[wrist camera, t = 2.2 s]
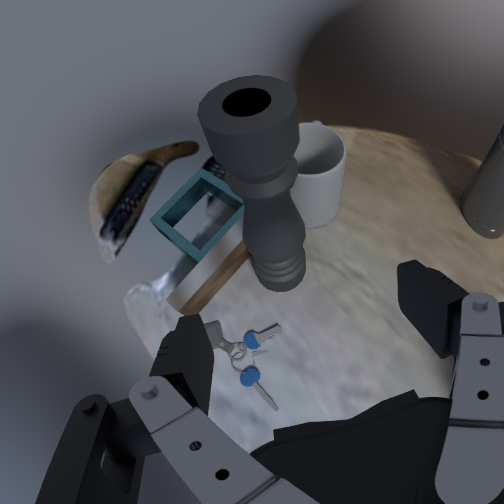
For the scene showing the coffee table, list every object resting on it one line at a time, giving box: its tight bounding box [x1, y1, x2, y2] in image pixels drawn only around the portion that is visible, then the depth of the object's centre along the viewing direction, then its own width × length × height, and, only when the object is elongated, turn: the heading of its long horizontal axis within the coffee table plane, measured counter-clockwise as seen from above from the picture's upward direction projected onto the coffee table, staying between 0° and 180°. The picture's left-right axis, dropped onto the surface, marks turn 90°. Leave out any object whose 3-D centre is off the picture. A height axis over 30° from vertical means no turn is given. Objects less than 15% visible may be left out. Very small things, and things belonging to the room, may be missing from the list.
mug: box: [290, 121, 346, 229], centre depth 37 cm, size 12×8×11 cm
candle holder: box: [197, 75, 306, 292], centre depth 27 cm, size 6×6×25 cm
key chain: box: [204, 321, 281, 411], centre depth 35 cm, size 14×8×1 cm, turn 51°
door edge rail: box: [166, 215, 251, 316], centre depth 37 cm, size 17×2×5 cm, turn 139°
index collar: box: [150, 168, 244, 264], centre depth 41 cm, size 10×10×4 cm
